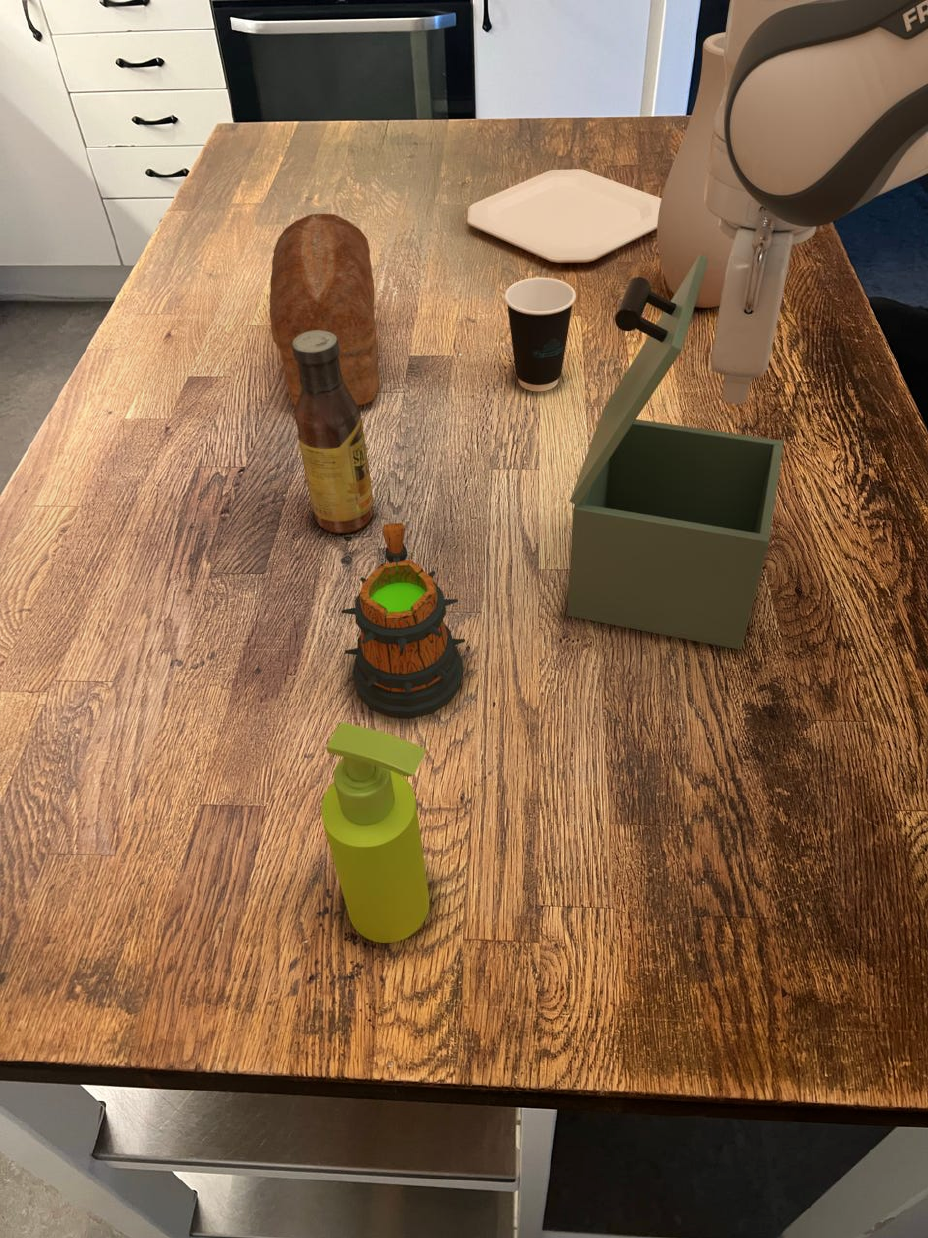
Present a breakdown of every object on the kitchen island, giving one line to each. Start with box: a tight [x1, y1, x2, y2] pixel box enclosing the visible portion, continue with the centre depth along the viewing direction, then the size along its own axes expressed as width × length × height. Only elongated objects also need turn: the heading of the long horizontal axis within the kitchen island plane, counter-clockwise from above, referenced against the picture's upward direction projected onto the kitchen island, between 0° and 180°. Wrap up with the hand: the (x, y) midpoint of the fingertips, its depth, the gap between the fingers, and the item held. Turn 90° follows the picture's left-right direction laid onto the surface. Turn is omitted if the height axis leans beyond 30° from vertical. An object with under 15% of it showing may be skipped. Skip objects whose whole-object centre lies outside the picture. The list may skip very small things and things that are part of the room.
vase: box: [656, 31, 734, 309], centre depth 115 cm, size 14×14×30 cm
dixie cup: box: [503, 277, 577, 392], centre depth 110 cm, size 8×8×11 cm
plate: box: [466, 168, 662, 264], centre depth 141 cm, size 25×25×2 cm
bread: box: [269, 213, 380, 407], centre depth 115 cm, size 12×28×14 cm, turn 6°
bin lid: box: [569, 255, 709, 506], centre depth 76 cm, size 17×14×5 cm
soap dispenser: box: [320, 721, 431, 944], centre depth 62 cm, size 6×7×20 cm
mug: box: [341, 522, 466, 719], centre depth 80 cm, size 13×10×12 cm
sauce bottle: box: [292, 330, 374, 534], centre depth 91 cm, size 7×6×20 cm
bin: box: [566, 418, 785, 651], centre depth 86 cm, size 16×14×13 cm
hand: (741, 363), depth 72 cm, fingers open, 8 cm apart
